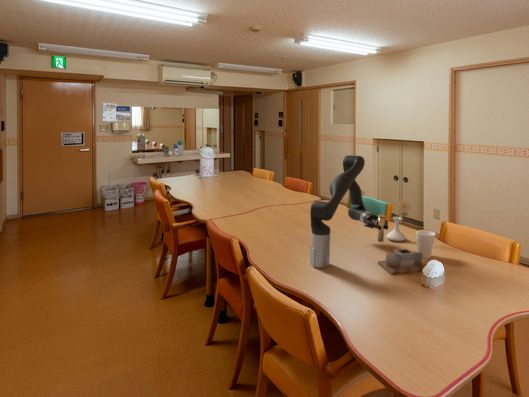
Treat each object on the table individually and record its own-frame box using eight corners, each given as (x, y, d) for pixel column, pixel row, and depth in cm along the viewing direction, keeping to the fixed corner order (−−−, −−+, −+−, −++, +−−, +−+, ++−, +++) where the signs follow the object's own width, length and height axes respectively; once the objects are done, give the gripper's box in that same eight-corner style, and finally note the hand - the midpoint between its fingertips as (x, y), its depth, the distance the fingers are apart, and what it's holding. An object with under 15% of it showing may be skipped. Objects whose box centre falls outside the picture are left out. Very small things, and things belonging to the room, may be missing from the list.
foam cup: (436, 255, 197) (438, 232, 194) (430, 260, 190) (432, 236, 187) (418, 251, 203) (420, 229, 200) (411, 256, 196) (413, 233, 194)
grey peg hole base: (391, 275, 174) (391, 272, 173) (377, 263, 187) (378, 261, 187) (430, 271, 177) (430, 268, 176) (413, 260, 190) (414, 258, 190)
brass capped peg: (378, 242, 190) (380, 216, 187) (375, 240, 193) (377, 214, 190) (385, 241, 191) (386, 216, 188) (382, 239, 194) (383, 214, 191)
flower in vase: (387, 242, 219) (390, 201, 214) (384, 236, 230) (386, 197, 225) (410, 243, 217) (413, 202, 212) (406, 237, 228) (409, 198, 223)
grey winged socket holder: (389, 269, 177) (389, 255, 175) (382, 263, 183) (382, 250, 182) (425, 266, 180) (426, 252, 178) (417, 260, 186) (417, 247, 185)
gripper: (357, 213, 202) (371, 221, 185) (381, 212, 204) (397, 220, 188) (357, 226, 204) (370, 235, 187) (380, 224, 206) (396, 234, 189)
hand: (384, 228), depth 187 cm, fingers closed on brass capped peg, 3 cm apart
